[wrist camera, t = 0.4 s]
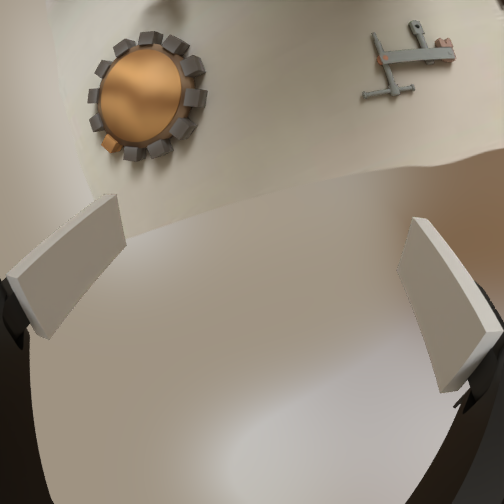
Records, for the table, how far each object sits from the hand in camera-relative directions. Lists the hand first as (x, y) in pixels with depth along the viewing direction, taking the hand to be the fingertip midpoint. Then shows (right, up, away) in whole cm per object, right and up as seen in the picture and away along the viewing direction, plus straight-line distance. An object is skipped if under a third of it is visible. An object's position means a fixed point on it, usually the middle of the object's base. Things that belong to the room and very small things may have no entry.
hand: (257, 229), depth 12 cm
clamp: (+19, +24, +14) cm, 34 cm away
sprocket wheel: (-16, +22, +23) cm, 36 cm away
